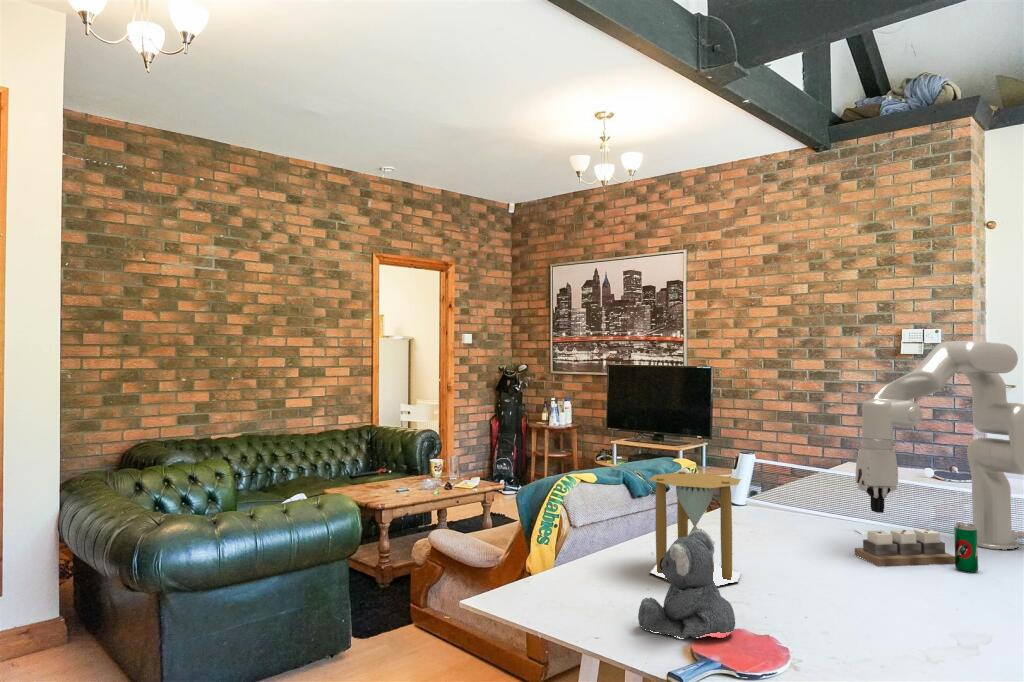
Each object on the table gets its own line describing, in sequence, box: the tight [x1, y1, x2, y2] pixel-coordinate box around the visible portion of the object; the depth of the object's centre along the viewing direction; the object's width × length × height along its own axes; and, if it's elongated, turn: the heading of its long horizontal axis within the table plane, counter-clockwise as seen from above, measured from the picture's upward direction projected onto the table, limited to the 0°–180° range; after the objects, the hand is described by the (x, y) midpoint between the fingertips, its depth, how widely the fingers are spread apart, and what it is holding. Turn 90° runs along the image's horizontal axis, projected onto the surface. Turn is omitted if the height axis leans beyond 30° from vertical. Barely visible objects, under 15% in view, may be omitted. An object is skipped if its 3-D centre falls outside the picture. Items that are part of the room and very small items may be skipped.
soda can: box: [953, 522, 979, 574], centre depth 182 cm, size 5×5×12 cm
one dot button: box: [866, 530, 892, 545], centre depth 192 cm, size 4×4×4 cm
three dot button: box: [890, 529, 916, 544], centre depth 192 cm, size 4×4×4 cm
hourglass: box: [647, 470, 741, 580], centre depth 180 cm, size 24×22×25 cm
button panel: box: [854, 539, 955, 567], centre depth 192 cm, size 22×11×5 cm, turn 96°
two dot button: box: [913, 528, 941, 543], centre depth 193 cm, size 4×4×4 cm
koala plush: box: [637, 528, 736, 639], centre depth 144 cm, size 17×18×20 cm
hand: (877, 511), depth 192 cm, fingers closed
